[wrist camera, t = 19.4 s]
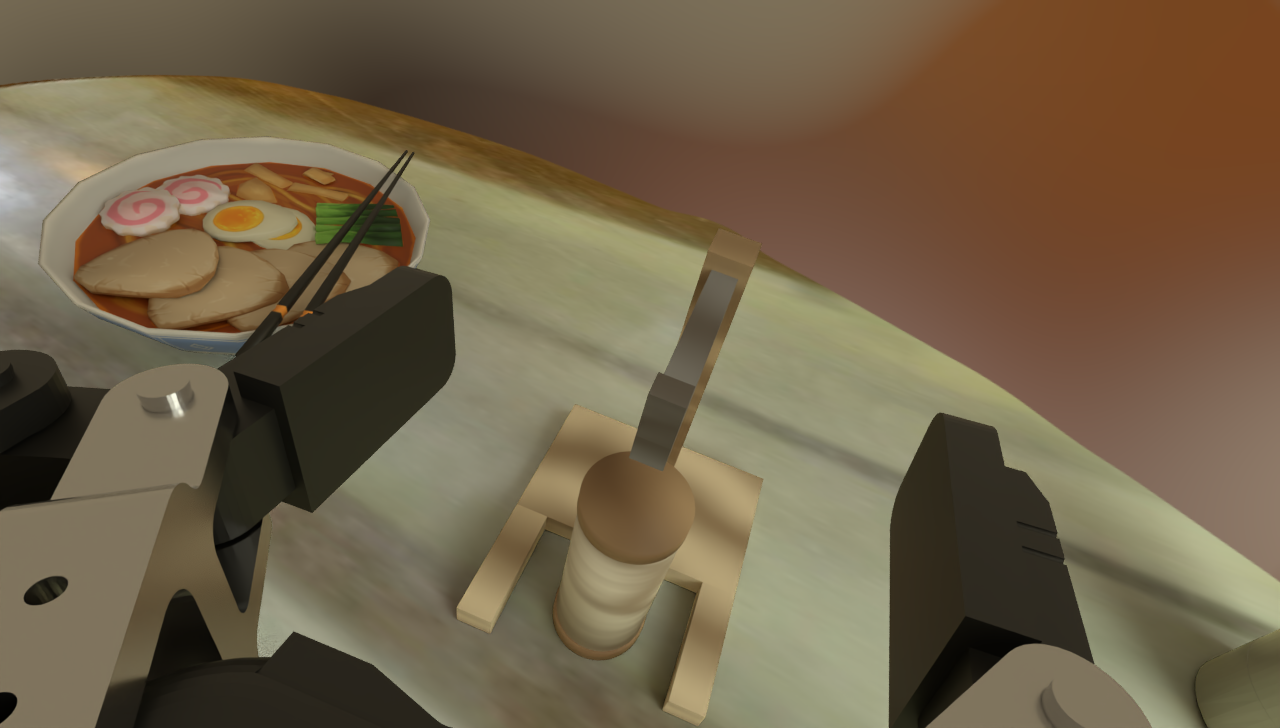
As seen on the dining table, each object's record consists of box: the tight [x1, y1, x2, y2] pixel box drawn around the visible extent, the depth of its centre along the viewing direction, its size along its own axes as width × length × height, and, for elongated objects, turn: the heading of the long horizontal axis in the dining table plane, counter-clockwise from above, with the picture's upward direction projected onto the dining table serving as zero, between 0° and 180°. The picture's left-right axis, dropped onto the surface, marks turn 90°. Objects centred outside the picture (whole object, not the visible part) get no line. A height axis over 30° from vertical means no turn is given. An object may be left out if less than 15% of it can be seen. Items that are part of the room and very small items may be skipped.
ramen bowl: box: [38, 136, 430, 357], centre depth 46 cm, size 25×23×8 cm
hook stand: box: [457, 228, 763, 726], centre depth 32 cm, size 16×14×22 cm
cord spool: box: [553, 451, 695, 660], centre depth 33 cm, size 5×5×12 cm
